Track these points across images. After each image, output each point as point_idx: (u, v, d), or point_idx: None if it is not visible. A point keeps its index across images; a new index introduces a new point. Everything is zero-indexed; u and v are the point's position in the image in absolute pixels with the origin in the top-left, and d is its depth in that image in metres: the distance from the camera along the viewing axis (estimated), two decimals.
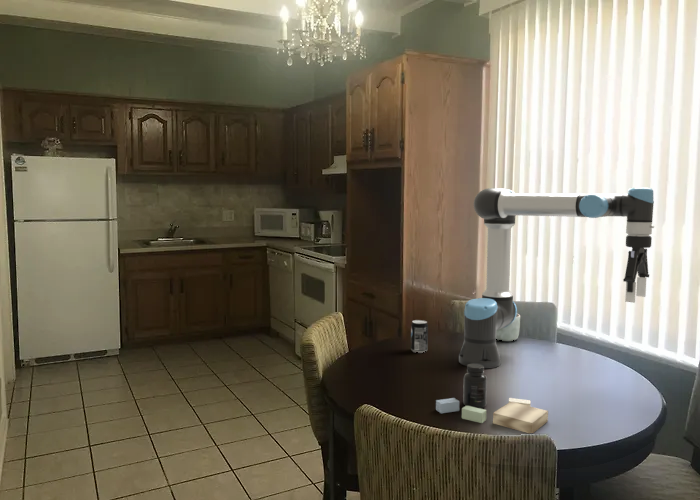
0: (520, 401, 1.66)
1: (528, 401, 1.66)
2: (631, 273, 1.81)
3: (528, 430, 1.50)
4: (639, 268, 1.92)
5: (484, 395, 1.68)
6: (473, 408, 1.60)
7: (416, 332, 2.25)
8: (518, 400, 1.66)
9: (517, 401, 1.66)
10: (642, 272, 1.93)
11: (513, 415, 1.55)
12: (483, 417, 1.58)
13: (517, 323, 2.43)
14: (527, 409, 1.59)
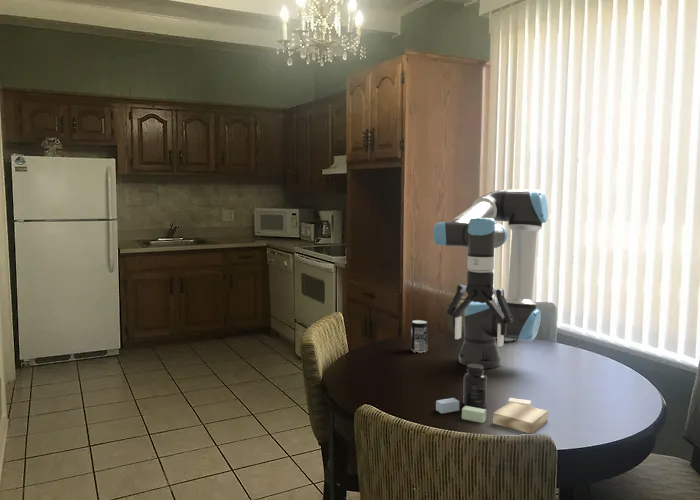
0: (520, 401, 1.66)
1: (528, 401, 1.65)
2: None
3: (528, 430, 1.50)
4: None
5: (484, 395, 1.68)
6: (473, 408, 1.60)
7: (416, 332, 2.25)
8: (518, 400, 1.66)
9: (517, 401, 1.66)
10: None
11: (513, 415, 1.55)
12: (483, 417, 1.58)
13: None
14: (527, 409, 1.59)
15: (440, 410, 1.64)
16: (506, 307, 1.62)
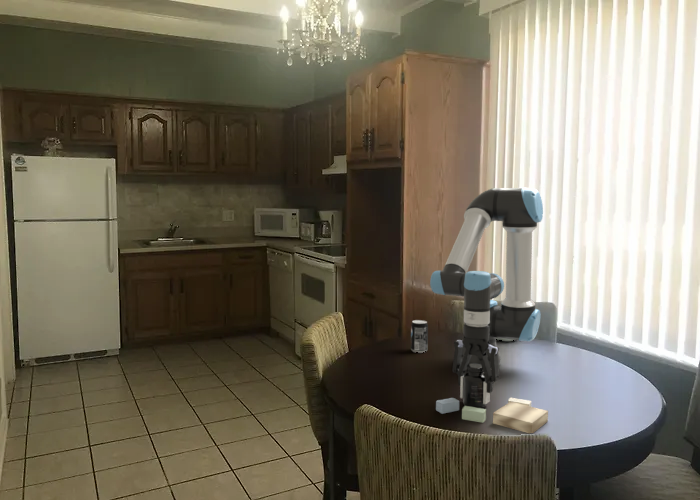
0: (520, 401, 1.66)
1: (528, 401, 1.65)
2: None
3: (528, 430, 1.50)
4: None
5: None
6: (473, 408, 1.60)
7: (416, 332, 2.25)
8: (519, 400, 1.66)
9: (517, 401, 1.66)
10: None
11: (513, 415, 1.55)
12: (484, 417, 1.58)
13: None
14: (527, 409, 1.59)
15: (440, 410, 1.64)
16: (496, 366, 1.65)
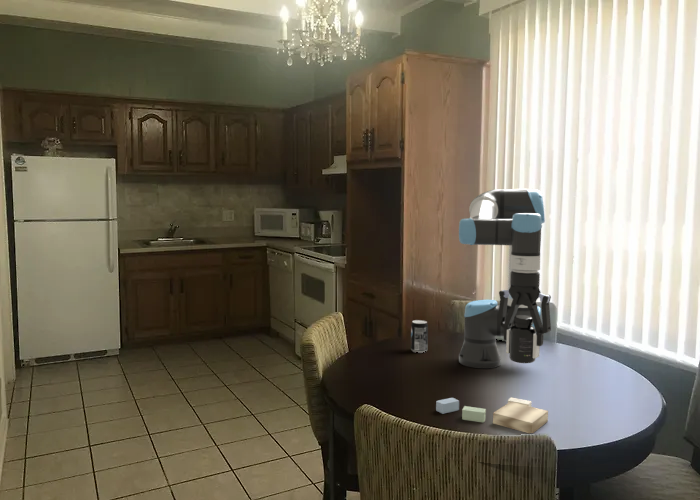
0: (520, 401, 1.66)
1: (528, 402, 1.65)
2: None
3: (528, 430, 1.50)
4: None
5: None
6: (473, 408, 1.60)
7: (416, 332, 2.25)
8: (519, 400, 1.66)
9: (517, 401, 1.66)
10: None
11: (513, 415, 1.55)
12: (484, 416, 1.58)
13: None
14: (527, 409, 1.59)
15: (441, 410, 1.64)
16: (547, 316, 1.50)
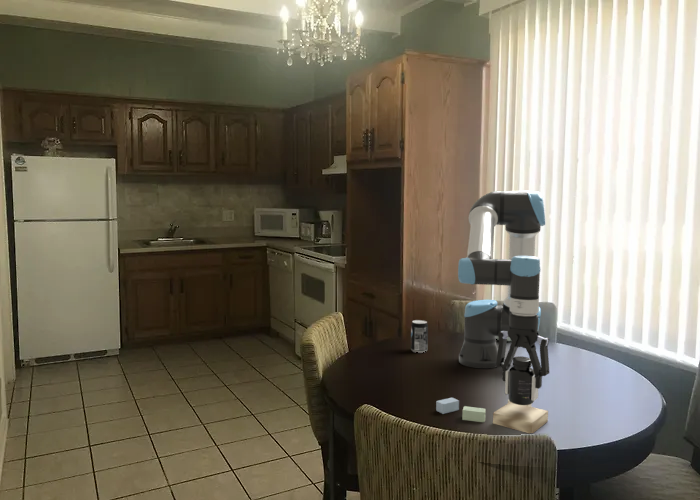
0: None
1: None
2: None
3: (528, 430, 1.50)
4: None
5: None
6: (472, 408, 1.60)
7: (416, 332, 2.25)
8: None
9: None
10: None
11: (513, 415, 1.55)
12: (484, 416, 1.58)
13: None
14: (527, 409, 1.59)
15: (441, 410, 1.64)
16: (546, 359, 1.51)
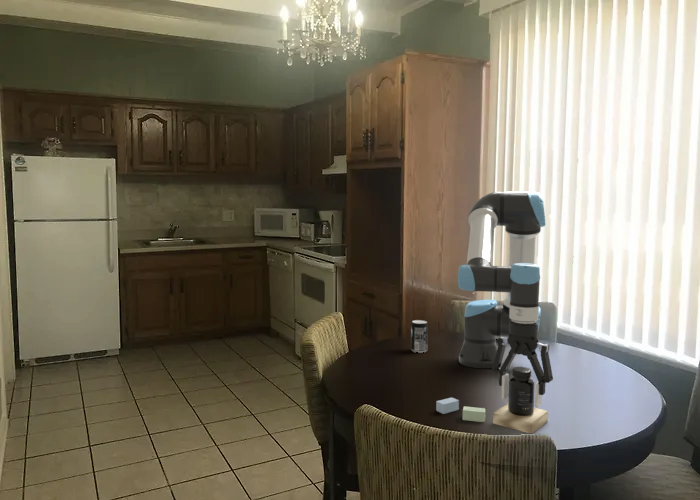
0: None
1: None
2: None
3: (528, 430, 1.50)
4: None
5: (532, 401, 1.54)
6: (472, 408, 1.60)
7: (416, 332, 2.26)
8: None
9: None
10: None
11: (513, 415, 1.55)
12: (484, 416, 1.58)
13: None
14: None
15: (441, 410, 1.64)
16: (548, 365, 1.51)
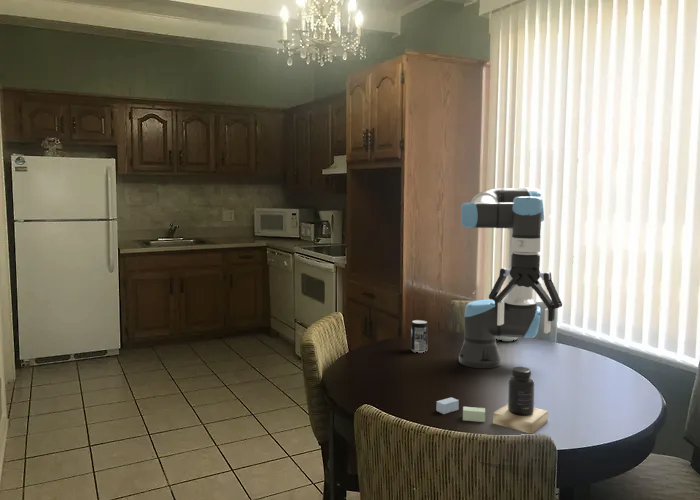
0: None
1: None
2: None
3: (528, 430, 1.50)
4: None
5: (532, 401, 1.54)
6: (472, 408, 1.60)
7: (416, 332, 2.25)
8: None
9: None
10: None
11: (513, 415, 1.55)
12: None
13: None
14: None
15: (442, 411, 1.64)
16: (554, 291, 1.53)
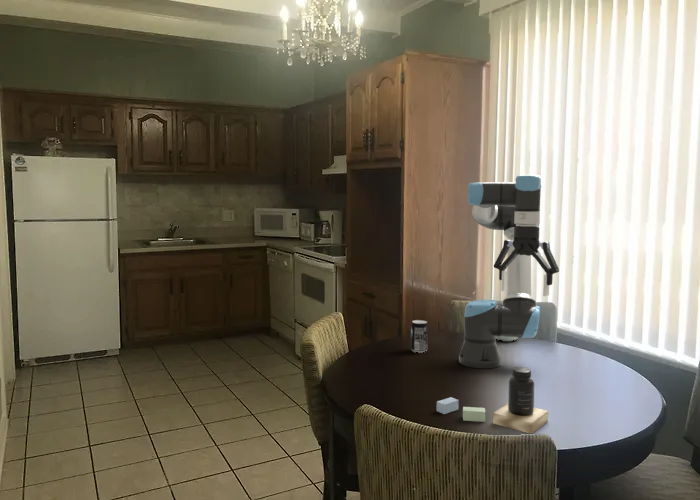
0: None
1: None
2: None
3: (528, 430, 1.50)
4: None
5: (532, 401, 1.54)
6: (472, 408, 1.60)
7: (416, 332, 2.25)
8: None
9: None
10: None
11: (513, 415, 1.55)
12: None
13: None
14: None
15: (442, 411, 1.64)
16: (552, 258, 1.72)
